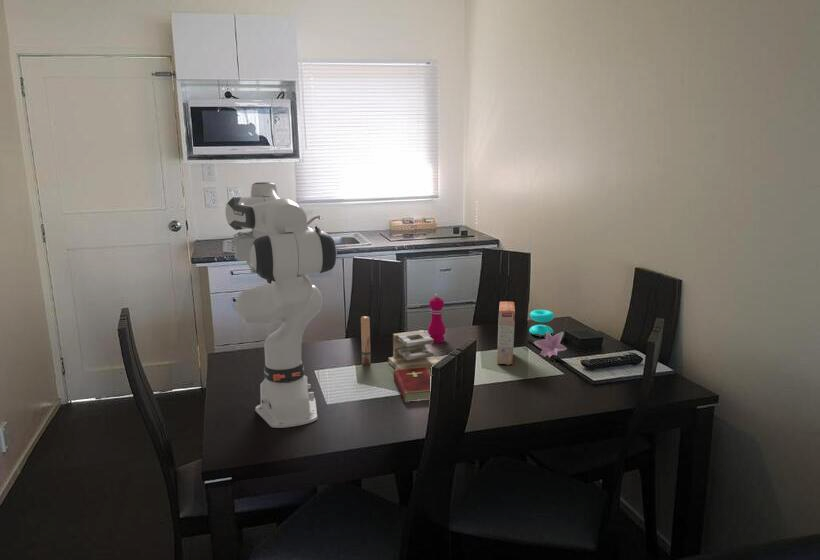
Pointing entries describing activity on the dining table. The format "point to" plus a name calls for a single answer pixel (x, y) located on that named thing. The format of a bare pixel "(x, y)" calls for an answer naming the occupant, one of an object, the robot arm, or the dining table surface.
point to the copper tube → (365, 340)
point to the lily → (550, 344)
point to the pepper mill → (436, 320)
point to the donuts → (541, 317)
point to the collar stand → (412, 350)
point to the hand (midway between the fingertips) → (267, 271)
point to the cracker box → (506, 332)
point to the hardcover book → (413, 382)
